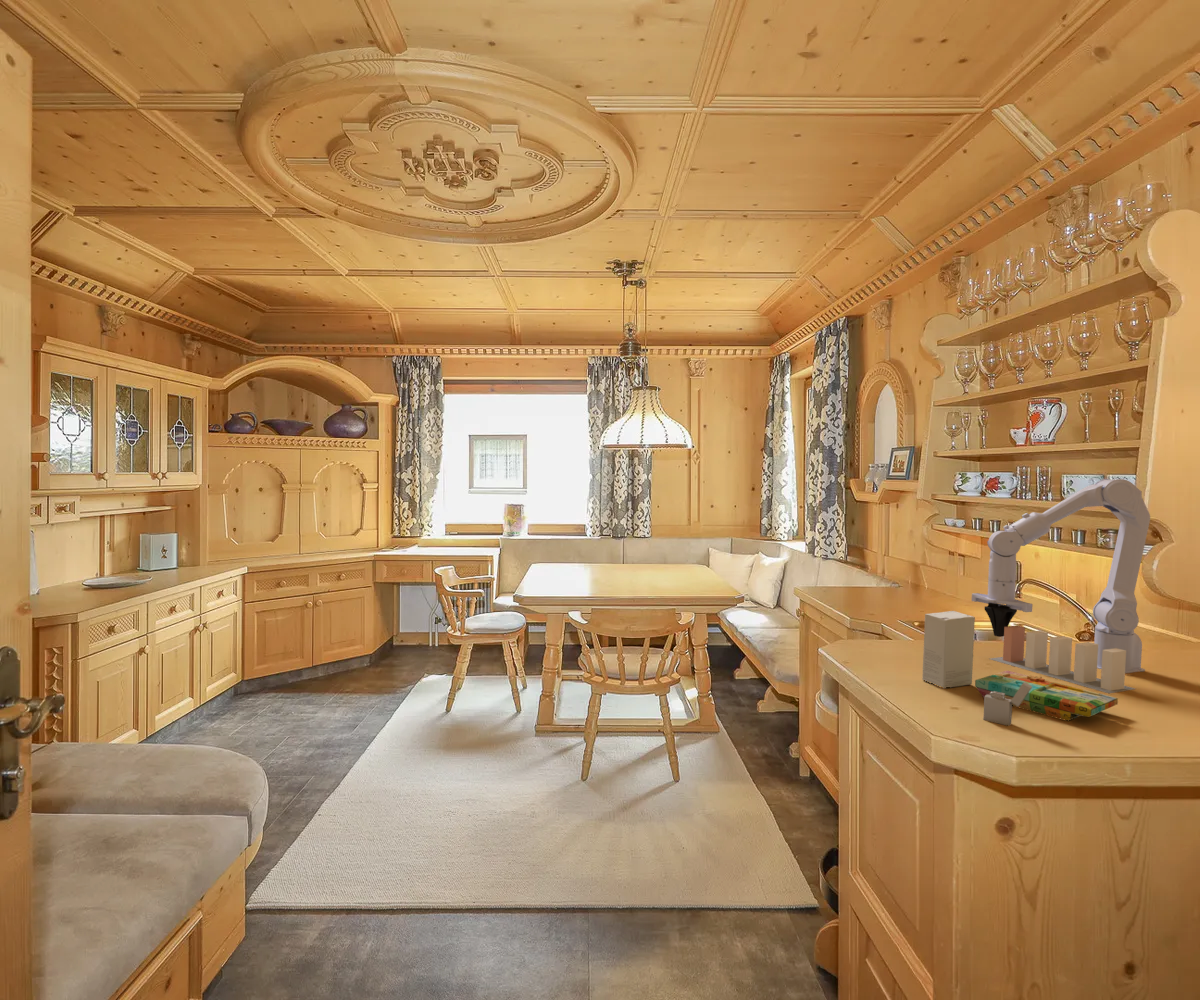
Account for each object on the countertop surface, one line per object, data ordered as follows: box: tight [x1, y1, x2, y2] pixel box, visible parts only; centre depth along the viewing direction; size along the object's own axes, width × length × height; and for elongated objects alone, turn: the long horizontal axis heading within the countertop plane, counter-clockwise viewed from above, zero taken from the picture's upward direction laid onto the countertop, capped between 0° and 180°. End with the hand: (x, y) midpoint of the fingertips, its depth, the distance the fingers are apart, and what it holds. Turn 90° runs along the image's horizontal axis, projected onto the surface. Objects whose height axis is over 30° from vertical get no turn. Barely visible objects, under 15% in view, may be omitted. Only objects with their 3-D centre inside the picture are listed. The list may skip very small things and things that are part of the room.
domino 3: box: [1048, 635, 1073, 676], centre depth 153 cm, size 4×2×8 cm, turn 113°
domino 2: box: [1024, 630, 1049, 669], centre depth 158 cm, size 4×2×8 cm, turn 113°
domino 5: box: [1100, 648, 1126, 691], centre depth 143 cm, size 4×2×8 cm, turn 113°
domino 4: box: [1073, 641, 1098, 683], centre depth 148 cm, size 4×2×8 cm, turn 113°
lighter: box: [982, 682, 1032, 727], centre depth 122 cm, size 7×2×8 cm, turn 46°
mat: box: [989, 656, 1136, 695], centre depth 154 cm, size 9×27×1 cm, turn 23°
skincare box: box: [921, 610, 976, 689], centre depth 145 cm, size 8×6×15 cm
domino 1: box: [1002, 625, 1026, 662], centre depth 163 cm, size 4×2×8 cm, turn 113°
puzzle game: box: [974, 670, 1119, 722], centre depth 132 cm, size 12×5×20 cm
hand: (999, 635), depth 167 cm, fingers closed
